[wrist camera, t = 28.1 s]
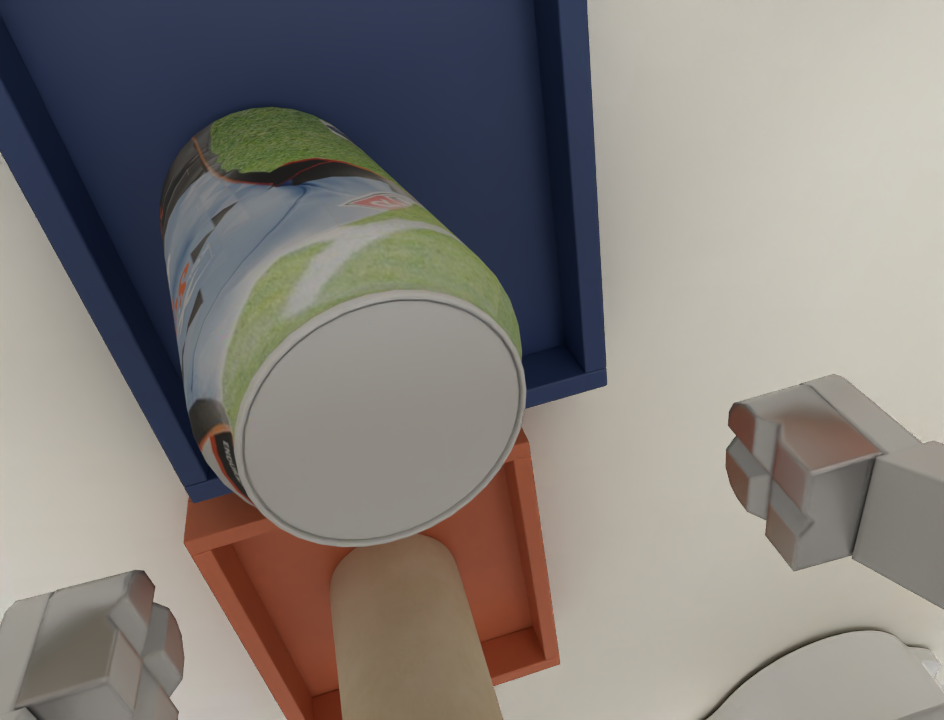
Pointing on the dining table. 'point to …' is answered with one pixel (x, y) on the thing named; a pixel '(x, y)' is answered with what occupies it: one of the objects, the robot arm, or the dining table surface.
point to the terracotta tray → (312, 565)
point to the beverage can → (333, 334)
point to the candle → (407, 636)
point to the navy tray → (342, 105)
